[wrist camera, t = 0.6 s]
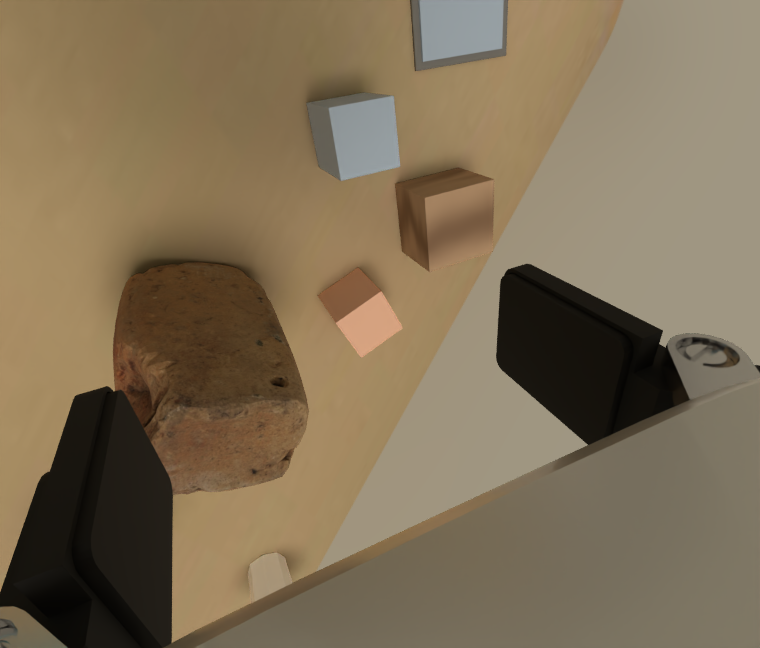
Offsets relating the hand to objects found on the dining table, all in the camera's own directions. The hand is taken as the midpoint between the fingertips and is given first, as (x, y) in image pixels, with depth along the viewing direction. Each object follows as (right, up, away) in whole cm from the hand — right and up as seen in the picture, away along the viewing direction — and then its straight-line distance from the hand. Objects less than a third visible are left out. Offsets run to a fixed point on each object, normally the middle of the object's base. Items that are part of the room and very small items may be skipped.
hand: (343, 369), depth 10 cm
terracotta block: (-2, +4, +34) cm, 34 cm away
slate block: (-2, +18, +26) cm, 31 cm away
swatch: (+8, +28, +25) cm, 38 cm away
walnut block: (+6, +13, +33) cm, 36 cm away
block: (-16, +4, +28) cm, 32 cm away
